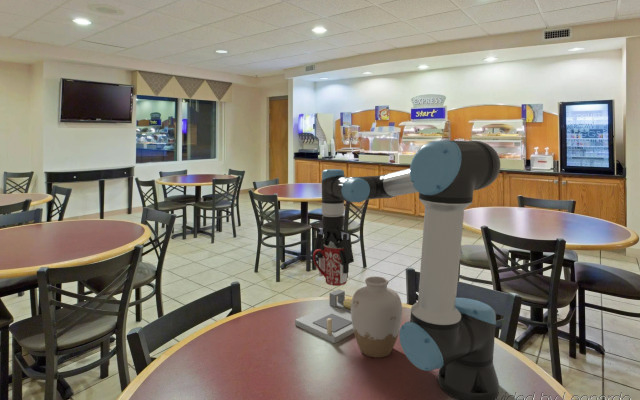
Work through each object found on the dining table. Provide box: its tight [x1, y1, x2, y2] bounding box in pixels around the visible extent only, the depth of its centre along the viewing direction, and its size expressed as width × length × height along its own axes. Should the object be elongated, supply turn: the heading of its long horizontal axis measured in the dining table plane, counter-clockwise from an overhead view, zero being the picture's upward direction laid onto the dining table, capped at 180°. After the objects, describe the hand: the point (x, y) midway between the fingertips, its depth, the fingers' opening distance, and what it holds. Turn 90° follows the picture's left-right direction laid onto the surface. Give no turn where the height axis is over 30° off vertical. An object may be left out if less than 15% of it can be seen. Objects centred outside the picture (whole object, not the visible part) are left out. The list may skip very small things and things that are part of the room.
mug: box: [312, 242, 347, 287], centre depth 132 cm, size 13×9×14 cm
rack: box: [294, 289, 354, 344], centre depth 138 cm, size 19×23×7 cm
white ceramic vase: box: [351, 276, 403, 359], centre depth 119 cm, size 16×16×23 cm
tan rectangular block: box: [344, 298, 352, 310], centre depth 144 cm, size 7×3×3 cm, turn 46°
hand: (332, 278), depth 132 cm, fingers closed on mug, 9 cm apart
